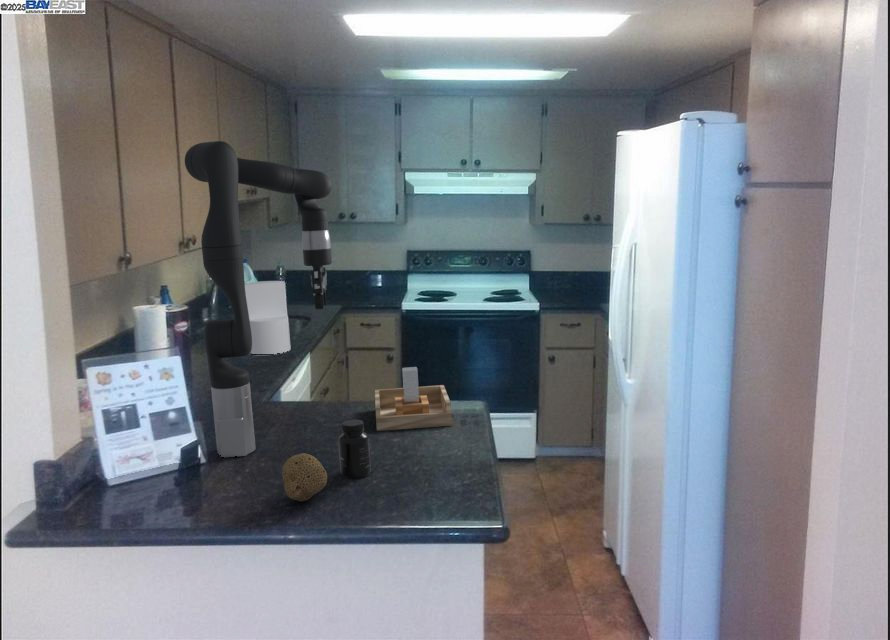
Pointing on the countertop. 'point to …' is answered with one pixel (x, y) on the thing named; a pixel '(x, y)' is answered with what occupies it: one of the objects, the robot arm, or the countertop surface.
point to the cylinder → (268, 317)
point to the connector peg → (410, 385)
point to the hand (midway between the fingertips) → (321, 307)
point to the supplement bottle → (354, 450)
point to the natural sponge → (303, 477)
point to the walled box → (412, 409)
